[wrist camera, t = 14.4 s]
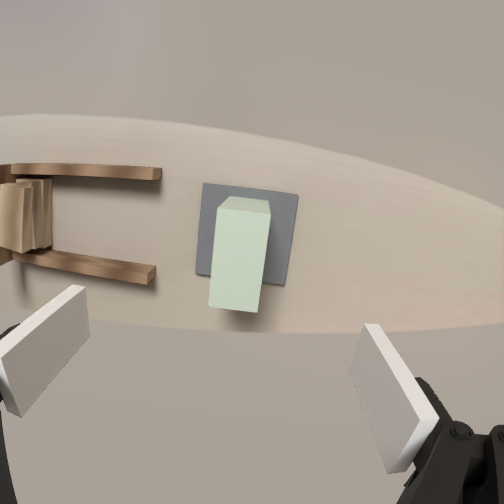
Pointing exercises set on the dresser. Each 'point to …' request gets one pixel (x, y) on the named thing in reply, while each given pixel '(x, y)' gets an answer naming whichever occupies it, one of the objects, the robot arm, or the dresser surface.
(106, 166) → the rack
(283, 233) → the rubber pad
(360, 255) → the dresser surface
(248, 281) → the block
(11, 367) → the robot arm
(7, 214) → the offcut stack
